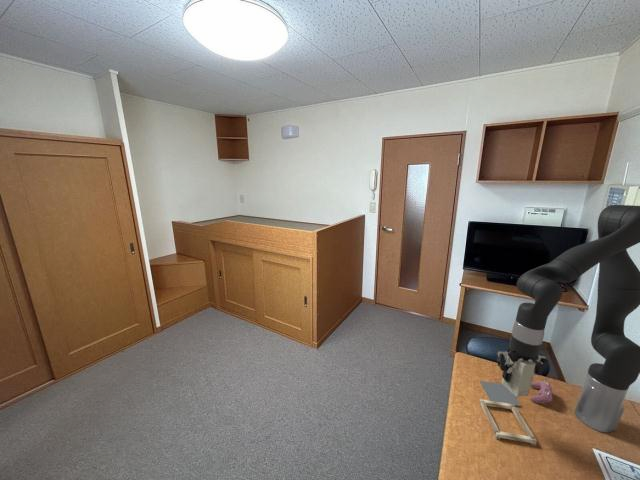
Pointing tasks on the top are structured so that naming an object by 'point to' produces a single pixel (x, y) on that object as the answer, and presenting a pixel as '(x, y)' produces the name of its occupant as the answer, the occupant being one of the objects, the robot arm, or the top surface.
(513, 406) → the wooden rectangular frame
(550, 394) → the video game controller
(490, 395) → the coaster
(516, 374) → the skincare box
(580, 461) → the top surface
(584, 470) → the top surface
